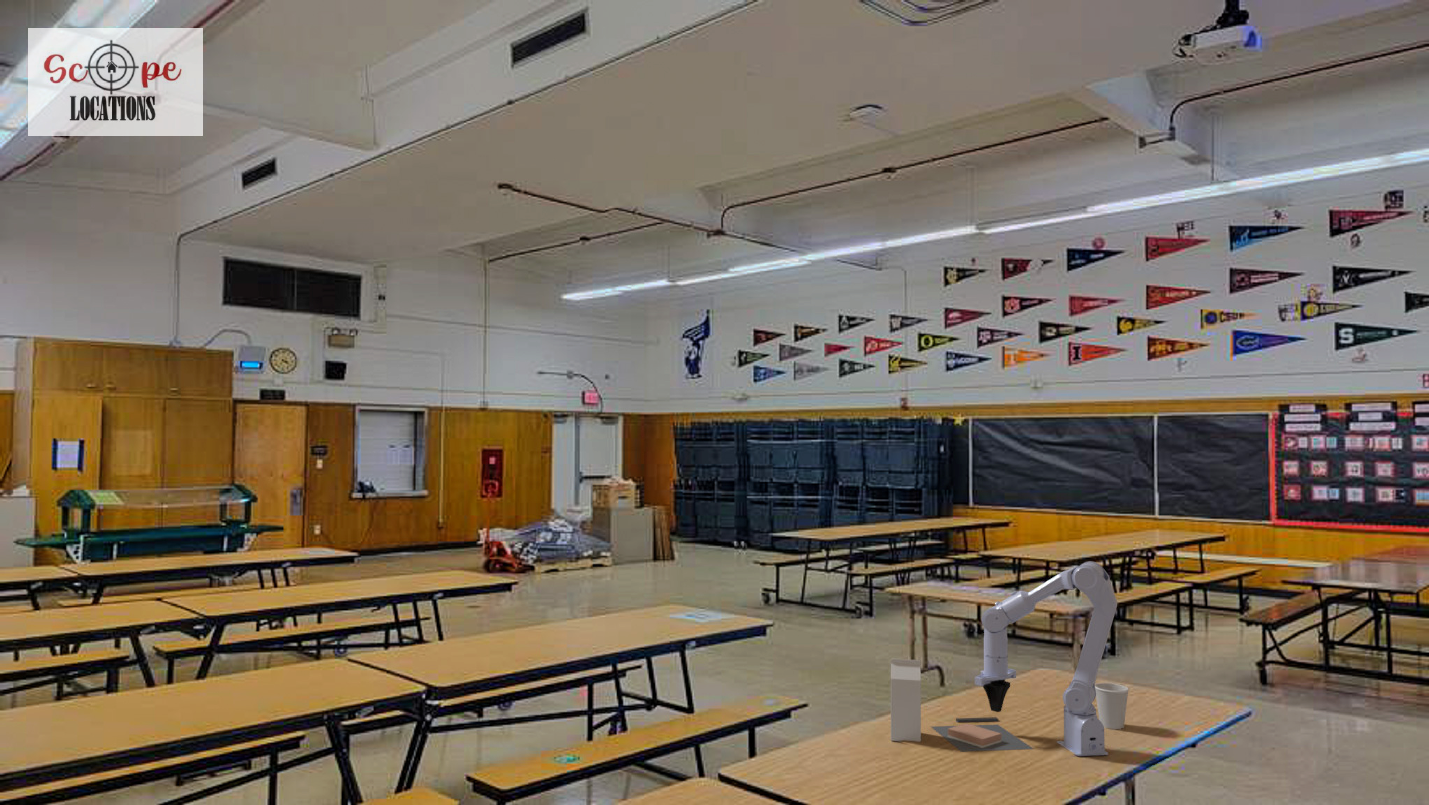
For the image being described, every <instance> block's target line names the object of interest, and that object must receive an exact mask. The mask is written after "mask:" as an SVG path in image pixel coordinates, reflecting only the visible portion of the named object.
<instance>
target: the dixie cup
mask: <svg viewBox="0 0 1429 805" xmlns="http://www.w3.org/2000/svg"><path fill="white" fill-rule="evenodd" d="M1095 689H1096V697H1095V699H1096V704H1097V706H1096V707H1097V712H1098V719H1099V720H1100V721H1101V722H1102V724H1103V726H1104V727H1105V728H1104V729H1108V728H1110V730H1116V729H1119V730H1122V729H1121V728H1123V729H1124V728H1125V722H1126V713H1127V712H1126V711H1127V706H1128V705H1127V704H1128V696H1129V691H1130V689H1129V687H1127V686H1125V685H1122V684H1118V683H1112V682H1099V683H1095Z"/></svg>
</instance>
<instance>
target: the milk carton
mask: <svg viewBox="0 0 1429 805" xmlns="http://www.w3.org/2000/svg"><path fill="white" fill-rule="evenodd" d="M921 676H922V674H921V660H918V659H901V658H891V659H890V741H892V742H904V741H906V742H907V741H909V742H922V732H921V730H922V729H921V728H922V720H921V719H922V717H921V715H922V710H921V709H922V708H921V707H922V706H921V705H922V703H921V702H922V690H921V689H922V686H921V685H922V680H921Z"/></svg>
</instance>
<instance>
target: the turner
mask: <svg viewBox="0 0 1429 805" xmlns="http://www.w3.org/2000/svg"><path fill="white" fill-rule="evenodd" d="M955 722H957V723H983V722H984V723H987V722H999V718H998V717H996V716H995V717H994V716H990V717H989V716H988V717H960V718H959V717H957V718H955Z"/></svg>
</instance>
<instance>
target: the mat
mask: <svg viewBox="0 0 1429 805" xmlns="http://www.w3.org/2000/svg"><path fill="white" fill-rule="evenodd" d="M973 725H974V726H977V727H981V728H984V729H988V730H991V731H994V732H998V733H1001V742H1000V743H996V744H993V745H990V746H987V747H984V748H981V747H978V746H975V745H972V744H968V743H965V742H962V741H959V740H956V739H953V738H949V737H948V729H949V728H952V727H956V726H957V725H949V726H948V725H943V726H942V725H941V726H931V729H933V730H934V731H935V732H936V733H938V734H939V735H940V736H942V737H943V738H944V739H945V740H947V741H948V742H949V743H950V744H951V745H952V746H953V747H955V748H956V749H957V750H958V751H960V753H961V752H989V751H1014V750H1015V751H1018V750H1020V751H1021V750H1034V748H1033V747H1032V746H1030V745H1029V744H1027V743H1026V742H1024V741H1023V740H1021V739H1020V738H1018V736H1015V735H1014V734H1013V733H1011V732H1009V730H1007V729H1005V728H1003V727H1002V726H1000V725H999V724H978V725H977V724H976V725H975V724H973Z"/></svg>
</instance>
